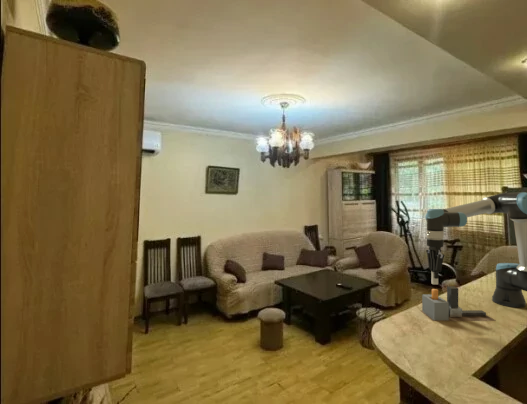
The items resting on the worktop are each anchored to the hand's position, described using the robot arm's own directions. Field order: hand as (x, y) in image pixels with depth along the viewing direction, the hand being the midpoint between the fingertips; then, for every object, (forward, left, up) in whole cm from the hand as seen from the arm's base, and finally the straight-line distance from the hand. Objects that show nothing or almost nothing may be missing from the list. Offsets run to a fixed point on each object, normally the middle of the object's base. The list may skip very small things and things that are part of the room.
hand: (434, 284), depth 154 cm
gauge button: (0, 0, -11) cm, 11 cm away
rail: (-14, 0, -17) cm, 22 cm away
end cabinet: (0, 0, -17) cm, 17 cm away
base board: (-11, 0, -17) cm, 21 cm away
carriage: (-9, 0, -17) cm, 19 cm away
